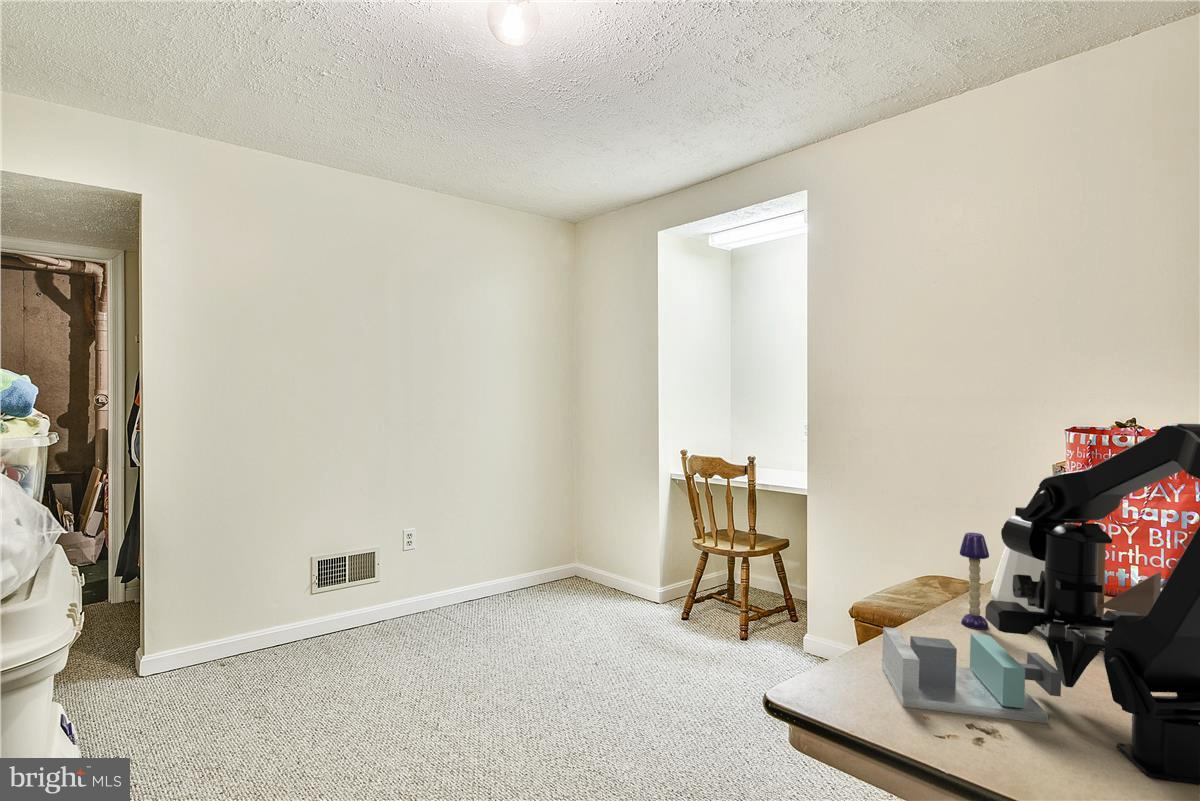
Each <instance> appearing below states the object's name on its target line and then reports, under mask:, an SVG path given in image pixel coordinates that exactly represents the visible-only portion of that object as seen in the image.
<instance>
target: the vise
mask: <svg viewBox="0 0 1200 801" xmlns="http://www.w3.org/2000/svg"><path fill="white" fill-rule="evenodd" d="M880 663H881V666H882V667H881V666H880V667H881V669H882V668H883V669H882V671H883V670H884V671H883V672H885V673H884V674H885V676H886V675H887V676H886V678H887V677H888V678H887V680H888V679H889V680H888V682H889V681H890V682H889V684H890V683H891V684H890V686H891V685H892V686H891V687H892V689H893V691H894V693H895V695H896V697H897V699H898V700H899V702H900V704H901V707H904V708H910V709H911V708H912V709H921V710H929V711H937V712H945V713H946V712H947V713H954V714H964V715H971V716H979V717H987V718H996V719H1006V720H1013V721H1021V722H1031V723H1039V724H1048V723H1049V713H1047V712H1046V711H1045V709H1044V708H1043V707H1041V706H1040V704H1039V703H1038V702H1036V700H1035V699H1033V697H1032V696H1031V695H1030V694H1029V693H1028V692H1027V691H1026V690H1025V698H1024V708H1018V707H1009V706H1002V705H1001V703H1000V702H999V701H998V700H997V699H996V698H995V697H994V695H993V694H992V693H991V692H990V691H989V690H988V688H987V687H986V686H985V685H984V684H983V683H982V681H981V680H980V679H979V678H978V677H977V676H976V675H975V673H974V672H973V671H972V670H971V669H970V667H965V666H963V667H962V666H956V689H950V688H941V687H932V686H923V685H919V659H918V657H917V656H916V654H915V653H914V651H913V650H912V649H911V647H910V643H908V642H907V640H906V639H905V637H904V636H903V634H902V633H901V631H900V630H899V628H896V627H886V626H883V627H882V658H881V662H880Z"/></svg>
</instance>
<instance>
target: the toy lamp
mask: <svg viewBox="0 0 1200 801" xmlns="http://www.w3.org/2000/svg"><path fill="white" fill-rule="evenodd" d="M986 542H987V541H986V539H985V537H984V535H983V534H982V533H980V532H966V533H964V535H963V539H962V542H961V545H960V549H959V555H960V556H961V557H964V558H968V563H969V566H968V571H969V574H968V578H969V579H968V580H969V582H968V588H969V590H968V596H969V600H968V604H969V608H968V612H969V613H967V614H965V615H963V617H962V618H961V621H960V622H961V624H962V625H963V626H964V627H968V628H970V629H974V630H975V629H976V630H986V629H988V628H989V624H988V620H987V619H986V618H985V617H984V616H982V615H981V609H980V606H981V601H980V598H981V592H980V590H981V583H980V581H981V575H980V572H981V566H980V564H981V560H986V559H989V557H990V554H989V549H988V545H987V543H986Z"/></svg>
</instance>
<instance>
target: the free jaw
mask: <svg viewBox="0 0 1200 801" xmlns="http://www.w3.org/2000/svg"><path fill="white" fill-rule="evenodd" d="M969 643H970V646H969V647H970V649H969V650H970V651H969V668H970V669H971V670H972V671H973V672H974V673H975V675H976V676H977V677H978V678H979V679H980V680H981V681H982V683H983V684H984V685H985V686H986V687H987V688H988V690H989V691H990V692H991V693H992V694H993V695H994V697H995V698H996V699H997V700H998V701H999V702H1000V703H1001V705H1002V706H1009V707H1018V708H1024V698H1025V691H1026V690H1025V689H1026V687H1025V686H1026V681H1035V683H1036V684H1038V685H1039V686H1040V687H1041V688H1042V689H1043V690H1044V691H1045V693H1047V694H1048V695H1049V696H1053V697H1060V698H1061V696H1062V681H1061V673H1060V672H1059V671H1058V670H1057V668H1055V667H1054V666H1053V665H1052V664H1051V663H1049V661H1047V660H1046V659H1045V658H1044V657H1043V656H1041V655H1040V654H1039V653H1038V652H1030V651H1027V652H1026V653H1027V654H1026V656H1027V657H1026V663H1023V662H1018V661H1017V660H1016V659H1015V658H1014V657H1013V656H1012V655H1011V654H1010V653H1009V652H1008V651H1006V649H1004V648H1003V647H1002V646H1001V645H1000V644H999V643H998V642H997V641H996V640H994V638H993V637H991V635H985V634H976V633H974V634H973V633H971V634H970V642H969Z"/></svg>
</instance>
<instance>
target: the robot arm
mask: <svg viewBox="0 0 1200 801" xmlns="http://www.w3.org/2000/svg"><path fill="white" fill-rule="evenodd" d="M1183 471H1184V472H1185V473H1186V475H1187V474H1188V475H1189V476H1192V477H1194V478H1196V479H1198V480H1200V423H1169V424H1167V425H1164V426H1161V427H1160V428H1158V429H1157V431H1156V432H1155V434H1152V435H1150V436H1148V437H1146V438H1145V439H1143V440H1141V441H1138V442H1137V443H1134V444H1133V445H1131V446H1130V447H1128V448H1125V449H1124V450H1122V451H1119V452H1118V453H1116V454H1114V455H1113V456H1110V457H1109V458H1106V459H1105V460H1103V461H1100V462H1099V463H1097V464H1095V465H1093V466H1091V467H1088V468H1086V469H1081V470H1074V471H1067V472H1061V473H1058V474H1054V475H1050V476H1047V477H1044V478H1043V479H1042V480H1041V481H1040V483H1039V485H1038V488H1037V490H1036V491H1035V493H1034V495H1033V496H1032V498H1031V499H1030V501H1029V503H1028V504H1027V505H1026V507H1021V506H1019V507H1015V508H1014V509H1015V511H1014V514H1015V515H1012V516H1010V517H1009V518H1007V520H1006V521H1005V523H1004V525H1003V527H1002V528H1001V532H1000V534H1001V539H1002V543H1004V545H1005V546H1007V547H1008V548H1009V549H1011V550H1013V551H1016V552H1019V553H1021V554H1024V555H1027V556H1030V557H1033V558H1035V559H1038V560H1042V561H1045V571H1041V574H1040V580H1039V582H1036V581H1032V578H1031V576H1030V575H1018V574H1016V575H1013V585H1012V587H1013V595H1014V596H1015V597H1016V598H1027V601H1028V606H1035V607H1037V608H1038V609H1043V610H1044V612H1035V611H1028V610H1027V609H1026V608H1024V607H1023V606H1022V605H1020V604H1019V603H1018V602H1006V601H994V600H993V599H991V600H990V601H989V602H988V603H987V604H986V606H985V611H984V612H985V617H984V618H985V620H986V621H987V622H989V624H991V625H992V626H993V627H994V628H995V629H996V630H998V631H999V632H1000V633H1001V632H1002V633H1005V634H1013V635H1014V634H1015V635H1023V636H1024V635H1028V634H1030V633H1031V632H1034V633H1036V635H1037V636H1039V637H1040V638H1041V639H1043V641H1045V643H1046V646H1048V648H1049V651H1050V653H1051V656H1052V658H1053V661H1054V664H1055V666H1056V669H1057V670H1058V671H1059V672H1060V673H1061V685H1063V686H1064V687H1065V688H1070V689H1071V688H1073V687H1074V686H1075V685H1076V683H1077V682H1078V681H1079V679H1080V678H1081V676H1082V674H1084V673H1085V672H1084V671H1085V670H1086V668H1087V667H1088V666H1089V665H1090V663H1091V662H1092V661H1093V660H1094V659H1095V658H1097V655H1099V653H1100V652H1102V651H1103V650H1102V649H1105V650H1104V651H1103V662H1104V663H1103V664H1104V668H1105V671H1106V675H1107V676H1106V677H1107V680H1108V684H1109V685H1108V686H1109V689H1110V692H1111V697H1112V700H1113V702H1114V703H1116V704H1117V705H1119V706H1120V707H1121V710H1122V711H1124V712H1125V713H1128V714H1131V743H1127V742H1126V743H1124V742H1117V743H1116V748H1117V749H1118V750H1119V751H1120V752H1121V753H1122V754H1123V755H1125V757H1127V758H1128V759H1129V760H1130V761H1131V762H1132V763H1134V765H1135V766H1137V767H1138V768H1139V769H1140V770H1141V771H1142V772H1143V773H1144V774H1145V775H1146V776H1148V777H1150V778H1153V779H1161V780H1170V781H1177V782H1184V783H1193V784H1200V524H1199V526H1198V527H1197V528H1196V531H1195V532H1194V534H1193V535H1192V537H1191V539H1190V541H1189V543H1188V544H1187V546H1186V548H1185V549H1184V551H1183V553H1182V554H1181V557H1180V558H1179V560H1178V561H1177V563H1176V565H1175V566H1174V568H1173V570H1172V572H1171V573H1170V575H1169V577H1168V579H1167V580H1166V583H1165V584H1164V586H1163V588H1162V589H1161V592H1160V594H1159V596H1158V598H1157V599H1156V601H1155V603H1154V604H1153V606H1152V608H1151V610H1150V611H1149V613H1148V614H1147V615H1139V614H1137V613H1135V612H1123V611H1115V610H1111V609H1107V610H1106V611H1104V617H1101V616H1099V615H1098V614H1096V612H1097V593H1102V587H1103V585H1101V584H1099V583H1097V578H1098V543H1099V544H1106V545H1107V544H1109V545H1111V544H1112V543H1113V539H1112V537H1111V536H1110V535H1109V534H1108V533H1107V532H1105V531H1104V530H1103V529H1102V527H1101V525H1100V524H1099V523H1094V522H1092V523H1089V521H1090V522H1091V521H1100V520H1103V519H1105V518H1106V517H1108V516H1109V515H1110V514H1112V513H1113V512H1114V511H1116V510H1118V509H1119V507H1120V506H1121V503H1122V499H1123V498H1126V496H1129V495H1130V494H1133V493H1135V492H1137V491H1139V490H1141V489H1144V488H1146V487H1148V486H1151V485H1153V484H1155V483H1157V482H1159V481H1161V480H1162V481H1163V480H1164V479H1166V478H1169V477H1171V476H1173V475H1176V474H1178V473H1180V472H1183ZM1079 524H1080V525H1079ZM1053 620H1059V621H1064V622H1059V621H1053ZM1105 633H1110V634H1109V635H1108V636H1106V637H1104V636H1105ZM1107 642H1108V643H1107ZM1152 693H1171V694H1172V693H1174V694H1176V696H1175V695H1172V696H1169V695H1153V694H1152Z"/></svg>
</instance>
